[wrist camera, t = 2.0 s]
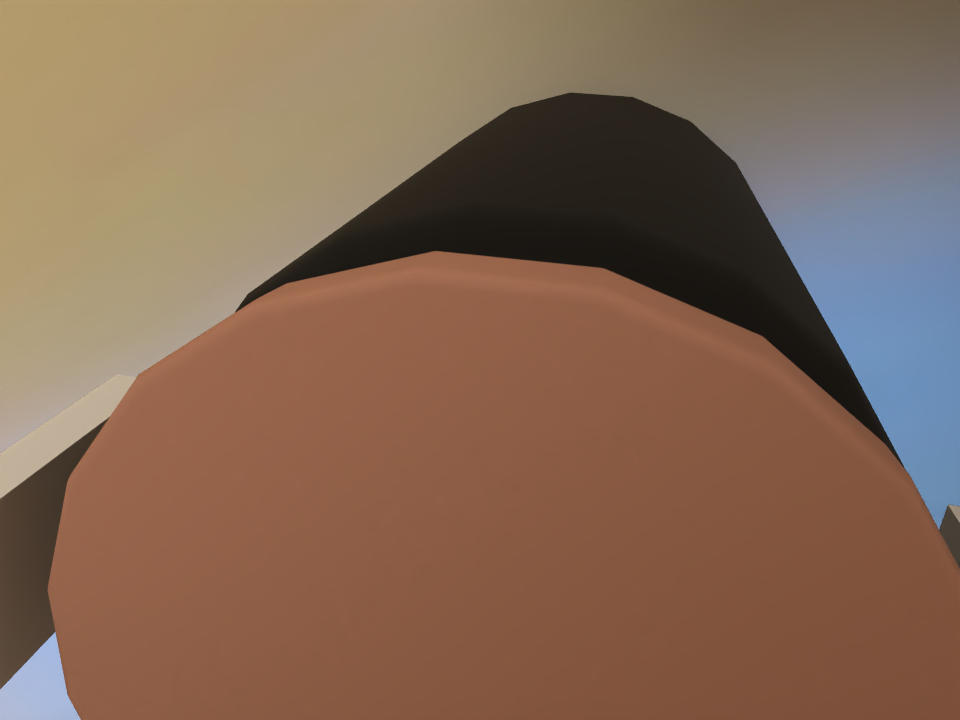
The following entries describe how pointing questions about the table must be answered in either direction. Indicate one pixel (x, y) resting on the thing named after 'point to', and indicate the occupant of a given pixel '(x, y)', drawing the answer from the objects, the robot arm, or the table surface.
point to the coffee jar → (513, 469)
